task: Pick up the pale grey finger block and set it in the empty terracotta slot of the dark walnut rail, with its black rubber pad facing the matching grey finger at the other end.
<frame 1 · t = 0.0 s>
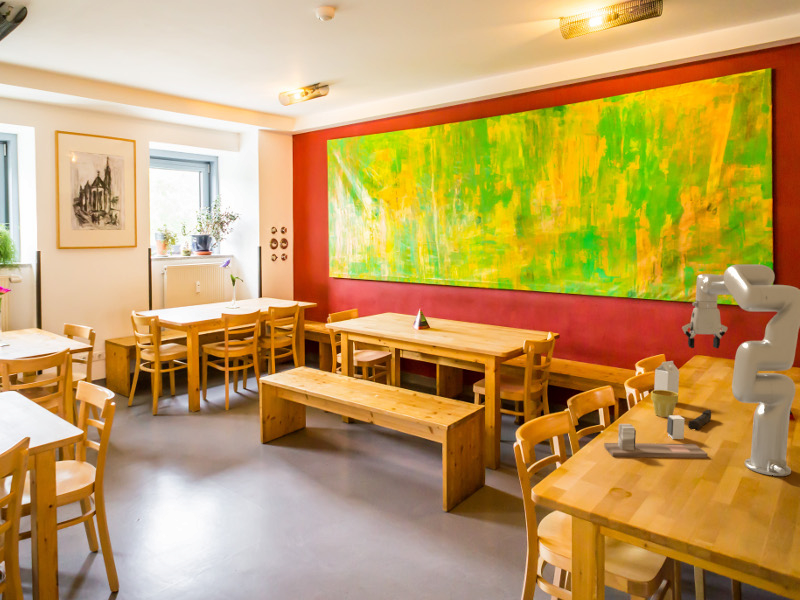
hand: (703, 347, 223), 31 cm above the table, tool pointing down, fingers open, 9 cm apart
finger block: (675, 437, 211), on the table
rail: (654, 452, 196), on the table
milk carton: (665, 402, 256), on the table
hand tool: (700, 425, 226), on the table
plant pot: (663, 415, 237), on the table
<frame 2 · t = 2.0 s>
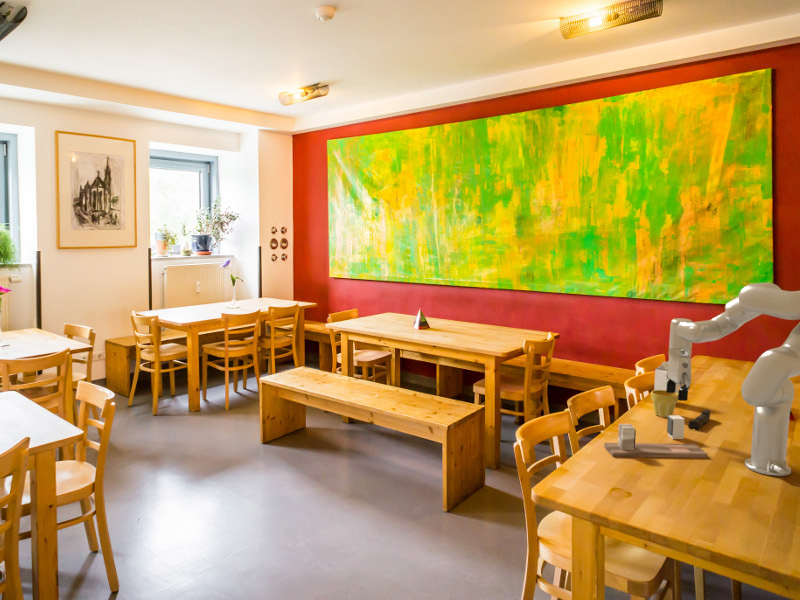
hand: (676, 396, 209), 16 cm above the table, tool pointing down, fingers open, 9 cm apart
nothing on the table moved.
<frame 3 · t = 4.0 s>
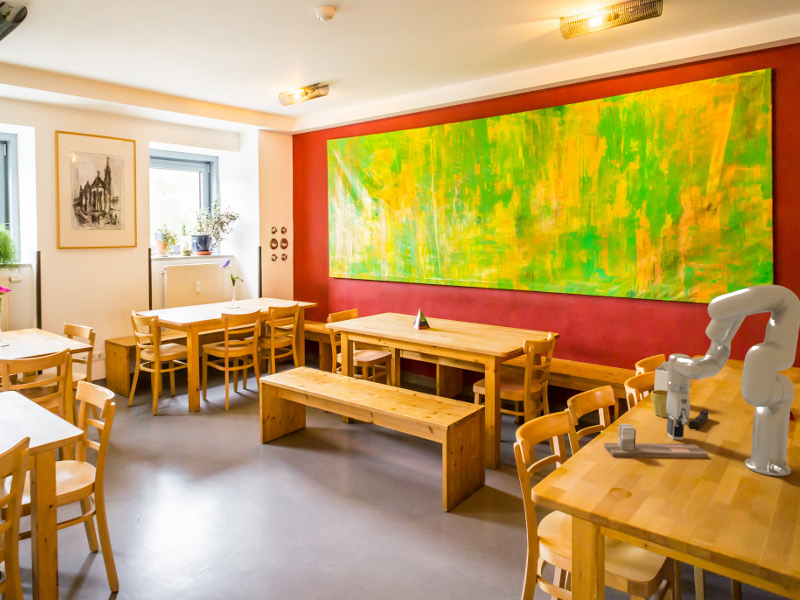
hand: (675, 434, 210), 1 cm above the table, tool pointing down, fingers closed on finger block, 4 cm apart
finger block: (675, 437, 211), on the table, touching gripper
everything else where it was.
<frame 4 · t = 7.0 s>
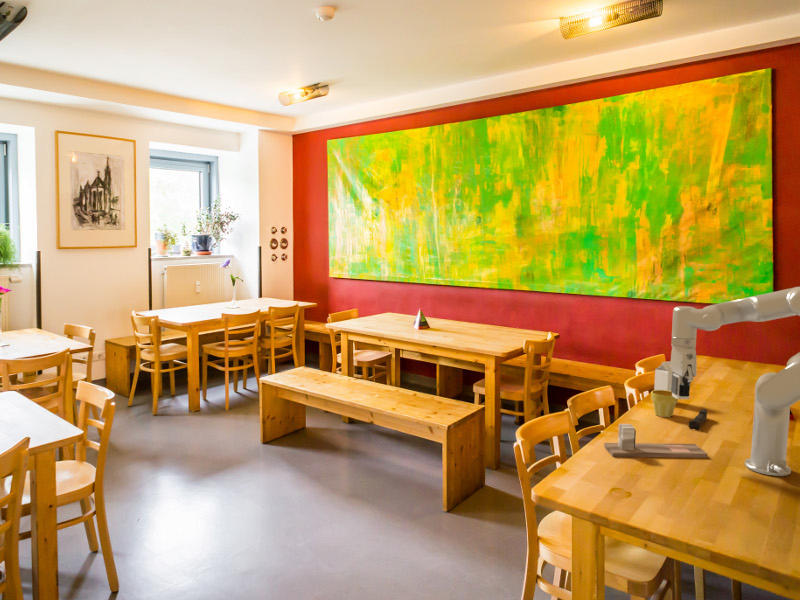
hand: (680, 393, 194), 21 cm above the table, tool pointing down, fingers closed on finger block, 4 cm apart
finger block: (680, 397, 194), point 20 cm above the table, touching gripper
everything else where it was.
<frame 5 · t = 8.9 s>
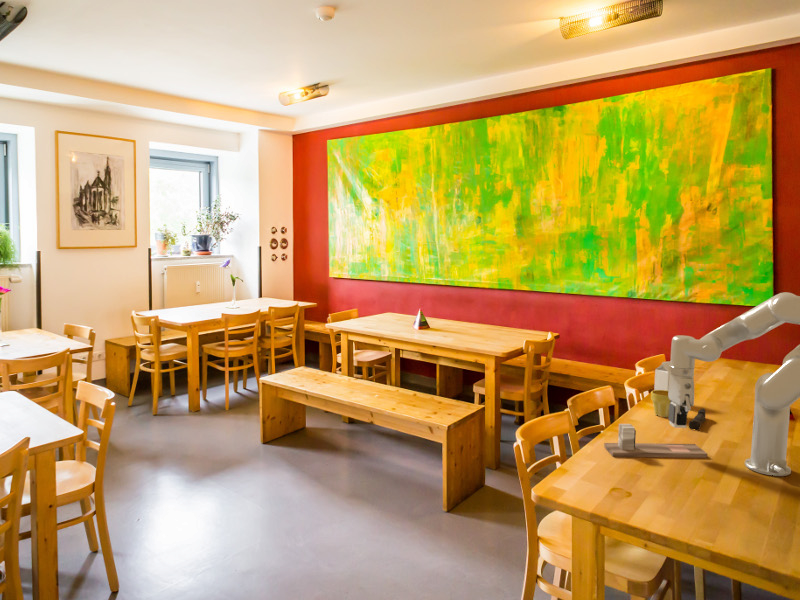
hand: (678, 422, 195), 11 cm above the table, tool pointing down, fingers closed on finger block, 4 cm apart
finger block: (677, 425, 195), point 10 cm above the table, touching gripper
when the fingers open (4 cm above the table, at t = 10.5 s): finger block drops 1 cm, resting on rail.
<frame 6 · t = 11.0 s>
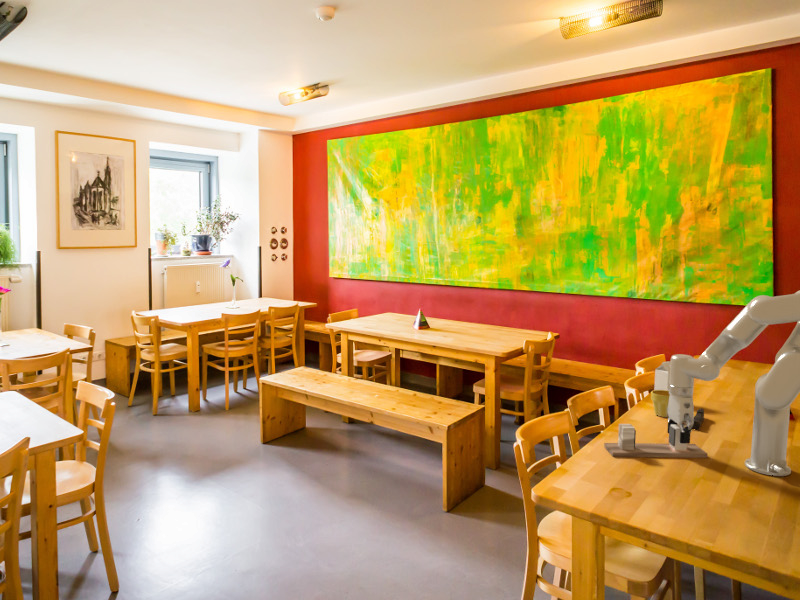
hand: (678, 438, 195), 5 cm above the table, tool pointing down, fingers open, 9 cm apart
finger block: (677, 448, 196), point 2 cm above the table, touching rail
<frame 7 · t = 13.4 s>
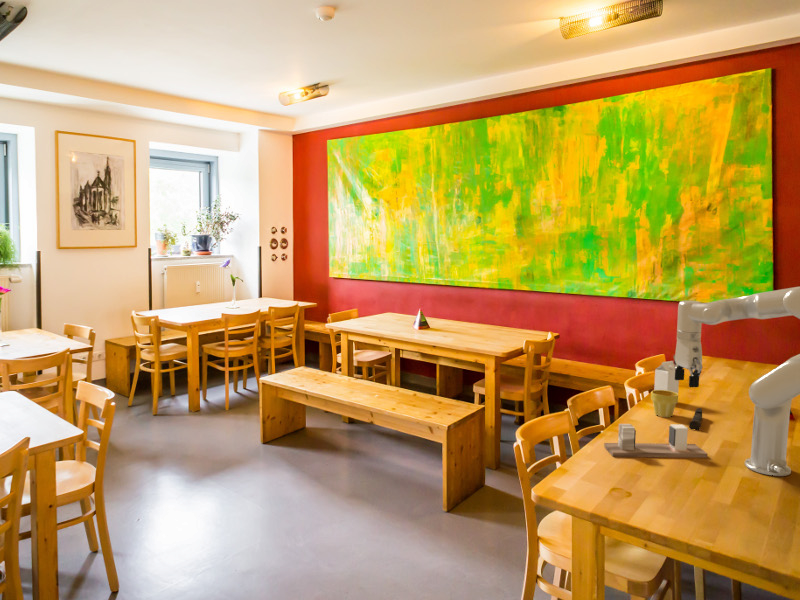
hand: (686, 383, 198), 24 cm above the table, tool pointing down, fingers open, 9 cm apart
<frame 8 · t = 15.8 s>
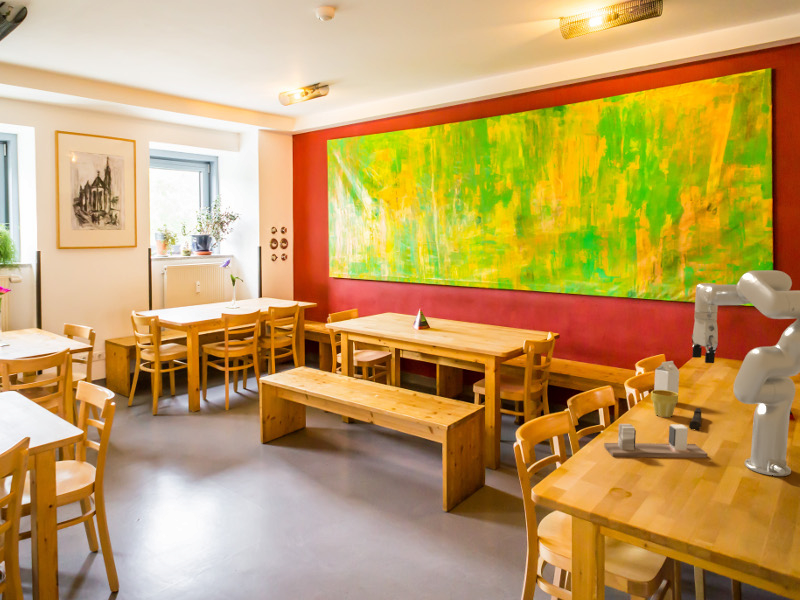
hand: (703, 360, 214), 28 cm above the table, tool pointing down, fingers open, 9 cm apart
at the end: finger block 0.0 cm from the target spot on the rail, point 1.5 cm above the rail's base; finger block tilted 0°; the gripper is holding nothing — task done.
